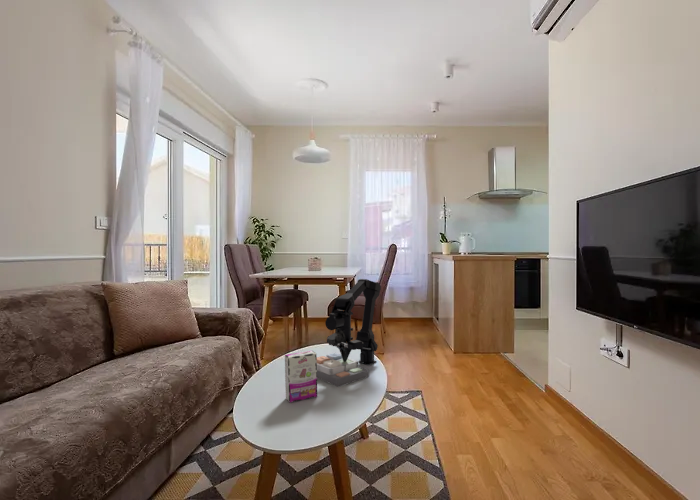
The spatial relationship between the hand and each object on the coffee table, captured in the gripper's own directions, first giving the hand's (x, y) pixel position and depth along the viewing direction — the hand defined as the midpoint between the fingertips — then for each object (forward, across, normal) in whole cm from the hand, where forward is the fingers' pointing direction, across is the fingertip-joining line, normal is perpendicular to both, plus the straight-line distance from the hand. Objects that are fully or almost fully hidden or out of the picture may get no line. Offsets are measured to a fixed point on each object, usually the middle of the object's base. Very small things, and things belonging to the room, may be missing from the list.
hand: (344, 361), depth 163 cm
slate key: (+1, -7, 0) cm, 7 cm away
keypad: (+6, -1, -4) cm, 7 cm away
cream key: (+1, 0, -7) cm, 7 cm away
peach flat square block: (+1, -7, -7) cm, 10 cm away
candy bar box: (+6, +9, -29) cm, 31 cm away
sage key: (+2, 0, 0) cm, 2 cm away
